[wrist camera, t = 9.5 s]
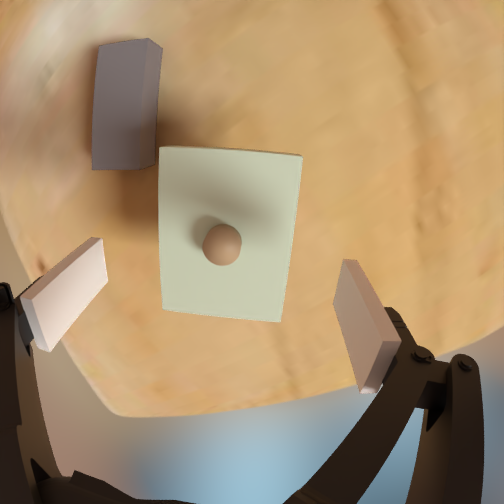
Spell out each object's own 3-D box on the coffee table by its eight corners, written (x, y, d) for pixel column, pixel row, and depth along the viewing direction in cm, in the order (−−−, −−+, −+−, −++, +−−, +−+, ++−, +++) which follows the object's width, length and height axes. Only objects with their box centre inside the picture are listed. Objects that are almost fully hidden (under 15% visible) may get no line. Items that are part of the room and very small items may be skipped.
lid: (168, 145, 20) (152, 148, 17) (299, 154, 20) (305, 158, 17) (169, 296, 24) (158, 318, 21) (279, 307, 24) (280, 331, 21)
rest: (117, 53, 24) (99, 45, 20) (162, 48, 24) (148, 38, 20) (111, 164, 28) (91, 170, 24) (154, 164, 28) (139, 169, 24)
